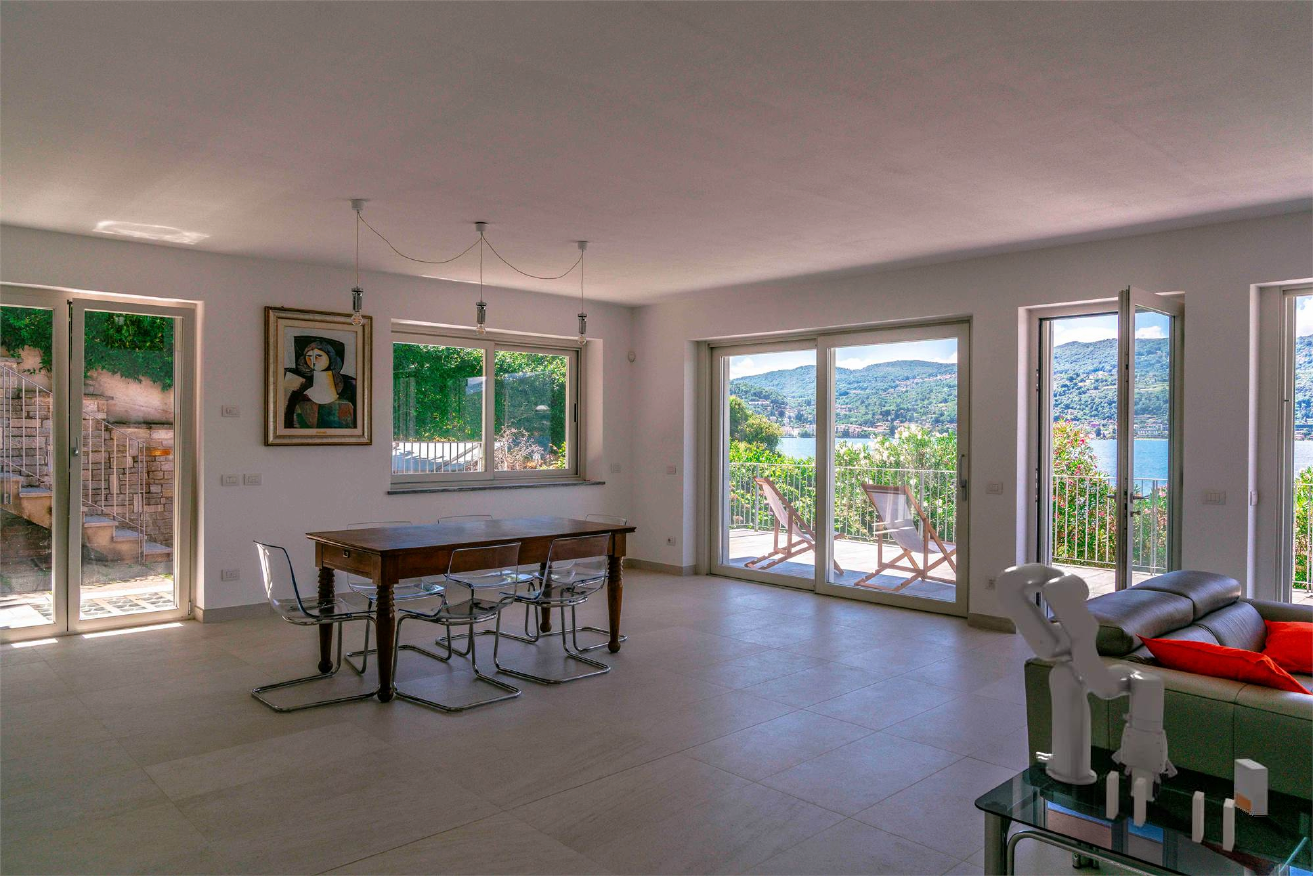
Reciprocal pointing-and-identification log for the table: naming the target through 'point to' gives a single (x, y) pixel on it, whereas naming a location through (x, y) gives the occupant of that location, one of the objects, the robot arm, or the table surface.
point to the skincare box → (1250, 787)
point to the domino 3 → (1140, 802)
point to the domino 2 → (1149, 781)
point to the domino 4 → (1198, 817)
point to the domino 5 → (1228, 824)
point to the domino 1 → (1112, 794)
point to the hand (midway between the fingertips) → (1142, 791)
